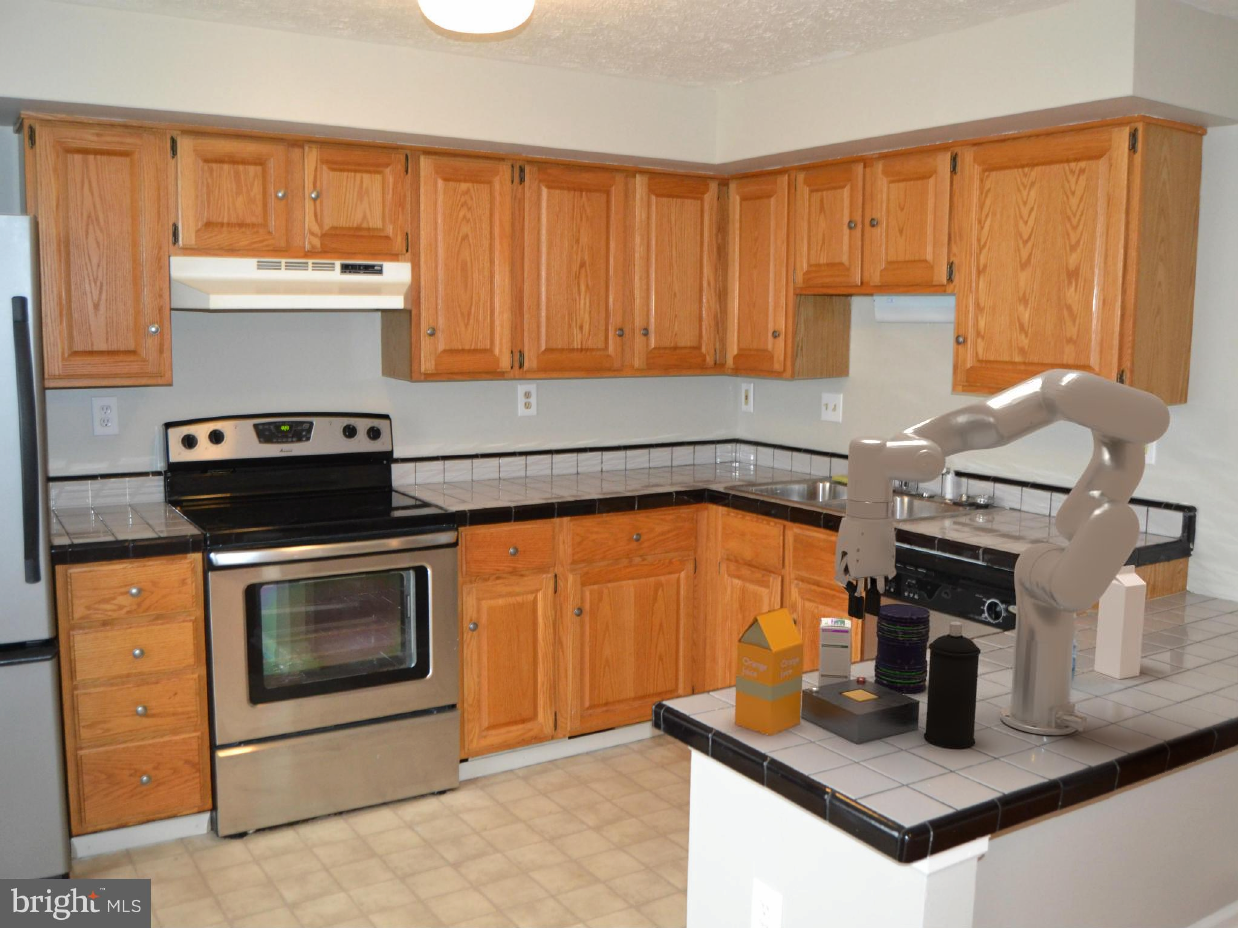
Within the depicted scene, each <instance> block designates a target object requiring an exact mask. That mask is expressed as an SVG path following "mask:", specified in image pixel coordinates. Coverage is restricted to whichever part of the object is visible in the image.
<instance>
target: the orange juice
mask: <svg viewBox="0 0 1238 928" xmlns="http://www.w3.org/2000/svg"><path fill="white" fill-rule="evenodd" d="M803 659H804V641H803V640H802V637H801V635H800V633H799V630H798V628H797V627H796V624H795V622H794V621H793V618H792V616H791V614H790V611H789V610H788V607H787V606H783V607H780V608H776V609H772V610H768V611H766V612H761V613H758V614H756V615H755V616H754V617H753V619H752V620H751V622H750V623H749V625H748V626H747V627H746V629H745V631H744V632H742V635H741V637H740V638H738V640H737V644H736V671H735V673H736V674H735V701H734V702H735V705H734V706H735V707H734V711H735V712H734V725H736V724H737V726H739V725H740V726H739V727H742V726H744V727H743V728H745V727H746V728H745V729H748V728H750V729H749V730H751V729H752V731H754V730H756V731H755V732H757V731H759V732H758V733H760V732H761V733H760V734H763V733H764V734H763V735H766V734H768V735H769V736H768V735H767V736H768V737H771V736H773V735H775V733H776V734H778V733H781V732H782V731H785V730H787V729H790V728H793V727H795V726H797V725H799V724H801V706H802V690H803V667H804V666H803V665H804V663H803V662H804V660H803ZM780 731H781V732H780ZM772 734H773V735H772ZM770 735H771V736H770Z"/></svg>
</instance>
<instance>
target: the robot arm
mask: <svg viewBox="0 0 1238 928" xmlns="http://www.w3.org/2000/svg"><path fill="white" fill-rule="evenodd" d="M1170 420H1171V414H1170V410H1169V408H1168V406H1167V404H1166V402H1164V401H1163V400H1162V399H1161V398H1160V397H1158V396H1157V395H1155V394H1153V393H1151V392H1149V391H1145V390H1142V389H1138V388H1135V387H1132V386H1129V385H1126V384H1123V383H1121V382H1117V381H1114V380H1111V379H1108V378H1105V377H1102V376H1099V375H1098V374H1095V373H1091V372H1087V371H1084V370H1078V369H1065V368H1054V369H1048V370H1046V371H1044V372H1041V373H1039V374H1036V375H1034V376H1032V377H1030V378H1028V379H1025V380H1023V381H1022V382H1021V381H1020V382H1019V383H1016V384H1015V385H1012V386H1011V387H1008V388H1006V389H1004V390H1002V391H1000V392H997V393H995V394H992V395H991V396H988V397H986V398H984V399H981V400H979V401H977V402H974V403H970V404H966V405H965V406H961V407H960V408H956V409H954V410H951V411H948V412H945V413H941V414H939V415H937V416H934V417H931V418H929V419H926V420H923V421H921V422H919V423H917V424H915V425H913V426H911V427H908V428H906V429H905V430H902V431H901V432H897V434H895V435H893V437H891V438H890V439H889V438H887V437H881V436H880V437H879V436H856V437H853V438H852V439H851V440H850V442H849V445H848V457H847V458H848V459H847V480H846V481H847V483H846V504H845V517H842V518H841V522H840V524H839V528H838V534H837V539H836V548H835V555H834V571H835V575H834V577H833V580H834V582H835V583H837V584H839V585H840V586H842V587H843V589H844V590H845V593H846V594H848V599H847V615H848V617H850V618H853V619H855V620H856V619H857V620H863V619H864V616H865V614H867V615H870V616H873V617H876V618H877V617H878V616H880V607H881V606H882V605H881V604H882V603H881V601H882V594H883V593H884V592H885V587H886V586H887V584H888V583H889V581H890V580H891V579H892V578H894V577H895V576H896V575H897V569H896V567H895V564H896V532H895V525H894V519H893V517H892V512H893V509H894V507H895V504H894V502H893V492H894V491H893V490H894V481H901V482H908V483H914V484H927V483H930V482H933V481H934V480H936V479H938V478H939V477H940V476H941V475H942V474H943V472H944V471H945V469H946V463H947V461H946V458H947V457H950V456H953V455H956V454H961V453H965V452H969V451H977V450H978V451H979V450H981V451H982V450H991V449H996V448H1002V447H1005V446H1007V445H1010V444H1011V443H1014V442H1016V441H1018V440H1021V439H1022V438H1024V437H1026V436H1028V435H1031V434H1033V433H1035V432H1037V431H1039V430H1041V429H1044V428H1047V427H1049V426H1051V425H1053V424H1055V423H1057V422H1059V421H1062V422H1063V421H1064V422H1068V423H1069V422H1070V423H1074V424H1076V425H1078V426H1081V427H1084V428H1087V429H1090V432H1091V435H1092V439H1093V440H1092V441H1093V451H1092V455H1091V458H1090V460H1089V463H1088V465H1087V466H1086V468H1085V470H1084V471H1083V473H1082V474H1081V476H1080V477H1079V479H1078V480H1077V482H1076V484H1075V485H1074V486H1073V488H1072V489H1071V490H1070V492H1069V494H1068V495H1067V496H1066V497H1065V499H1064V501H1063V502H1062V504H1061V506H1060V507H1059V508H1058V510H1057V512H1056V515H1055V520H1054V525H1055V529H1056V532H1057V533H1058V534H1059V535H1060V537H1062V539H1064V540H1065V541H1067V542H1068V545H1066V548H1064V547H1062V546H1060V545H1058V544H1055V543H1054V544H1053V543H1049V542H1039V543H1034V544H1032V545H1030V546H1028V547H1026V548H1025V549H1024V550H1023V551H1021V553H1020V555H1019V556H1018V558H1017V560H1016V563H1015V566H1014V577H1013V578H1014V589H1015V602H1016V603H1015V604H1016V606H1015V607H1016V610H1015V611H1016V612H1015V613H1016V614H1015V615H1016V616H1015V632H1014V645H1013V657H1012V658H1013V661H1012V676H1011V677H1012V678H1011V689H1010V691H1011V692H1010V705H1007V706H1005V707H1003V708H1002V709H1001V710H1000V720H1001V721H1002V722H1003V723H1005V725H1007V726H1008V727H1012V728H1013V729H1015V730H1019V731H1023V732H1026V733H1030V734H1035V735H1045V736H1065V735H1069V734H1073V733H1074V732H1076V731H1080V732H1081V731H1083V730H1084V728H1085V726H1086V724H1087V722H1088V717H1087V716H1085V715H1083V714H1078V713H1076V711H1075V710H1076V703H1074V702H1071V687H1072V673H1073V660H1074V658H1073V657H1074V644H1075V634H1076V619H1075V618H1076V617H1075V616H1076V614H1079V613H1081V612H1082V613H1083V612H1085V611H1087V610H1088V609H1091V607H1092V608H1093V606H1094V605H1095V604H1096V603H1098V602H1099V599H1100V598H1101V597H1102V595H1103V594H1104V593H1105V591H1106V590H1107V588H1108V587H1109V586H1110V584H1111V583H1112V581H1113V580H1114V578H1115V577H1116V575H1117V574H1118V572H1119V571H1120V570H1121V568H1122V567H1123V566H1124V565H1125V564H1126V562H1127V561H1128V559H1129V558H1130V556H1131V554H1132V553H1133V551H1134V550H1135V548H1136V546H1137V543H1138V540H1139V537H1140V531H1141V530H1140V529H1141V528H1140V527H1141V526H1140V522H1139V517H1138V515H1137V513H1136V512H1135V510H1134V508H1132V507H1131V506H1130V505H1128V503H1129V501H1130V500H1131V498H1132V496H1134V495H1133V494H1134V493H1135V492H1136V490H1137V488H1138V486H1139V485H1140V482H1141V480H1142V478H1143V476H1144V474H1145V473H1144V472H1145V468H1146V467H1145V466H1146V450H1145V445H1149V444H1152V443H1154V442H1156V441H1158V440H1159V439H1161V438H1162V437H1163V436H1164V435H1165V433H1166V432H1167V431H1168V429H1169V427H1170V422H1171V421H1170ZM864 579H867V588H868V589H865V592H864V596H863V595H862V594H863V587H864V581H865V580H864Z"/></svg>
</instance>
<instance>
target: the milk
mask: <svg viewBox="0 0 1238 928" xmlns="http://www.w3.org/2000/svg"><path fill="white" fill-rule="evenodd" d="M1135 571H1136V565H1133V564H1132V565H1125V566H1124V565H1123V567H1122V568H1121V570H1120V571H1119V572H1118V574H1117V575H1116V577H1115V578H1114V580H1113V581H1112V583H1111V584H1110V586H1109V587H1108V588H1107V590H1106V591H1105V593H1104V594H1103V595H1102V597H1101V598H1100V599H1099V600H1098V602H1099V604H1098V616H1097V625H1096V626H1097V627H1096V628H1097V630H1096V642H1095V643H1096V644H1095V655H1094V656H1095V657H1094V669H1093V671H1094V672H1096V673H1100V674H1101V675H1102V674H1103V675H1104V676H1108V677H1111V678H1113V679H1116V680H1122V679H1128V678H1129V679H1130V678H1134V677H1139V676H1140V672H1141V671H1140V670H1141V659H1142V658H1141V657H1142V645H1143V634H1144V633H1143V632H1144V622H1145V607H1146V595H1147V583H1146V581H1144V580H1143V579H1142V578H1141V577H1140V576H1139V575H1138V574H1137V573H1136V572H1135Z"/></svg>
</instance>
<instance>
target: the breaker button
mask: <svg viewBox="0 0 1238 928" xmlns="http://www.w3.org/2000/svg"><path fill="white" fill-rule="evenodd" d="M842 695H843V696H845V697H848V698H850V699H852V700H855V701H857V702H859V703H860V702H865V701H869V700H874V699H878V698H879V697H878V696H875V695H873V694H871V693H868V692H866V691H863V690H861V689H860V690H855V691H850V692H846V693H842Z"/></svg>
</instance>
